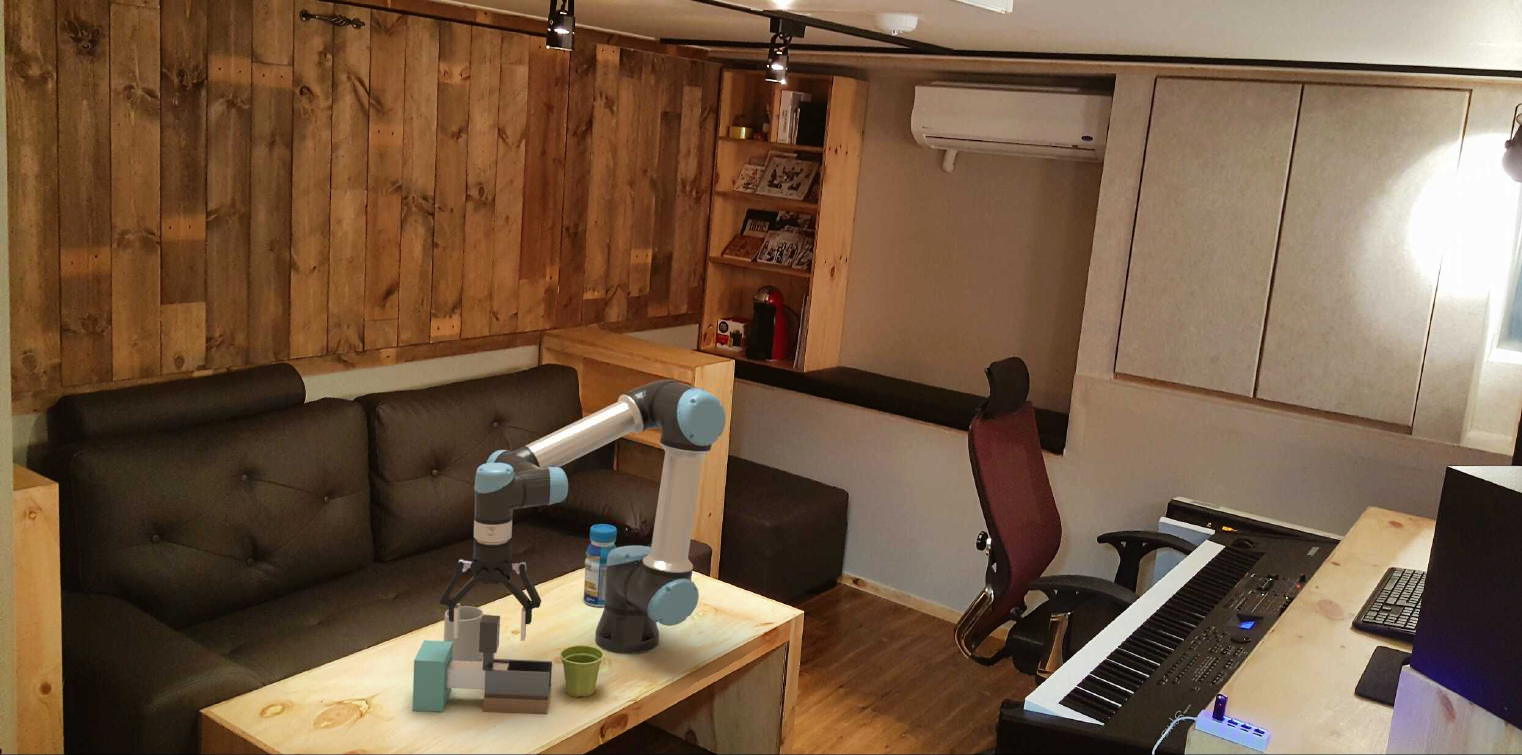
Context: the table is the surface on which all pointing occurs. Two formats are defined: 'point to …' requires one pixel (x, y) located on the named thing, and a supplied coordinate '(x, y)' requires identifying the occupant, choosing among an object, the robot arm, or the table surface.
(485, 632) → the grey sliding latch bolt
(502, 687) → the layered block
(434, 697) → the socket block
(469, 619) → the mug
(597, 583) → the beverage bottle
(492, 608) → the table surface
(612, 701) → the table surface
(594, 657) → the plant pot
